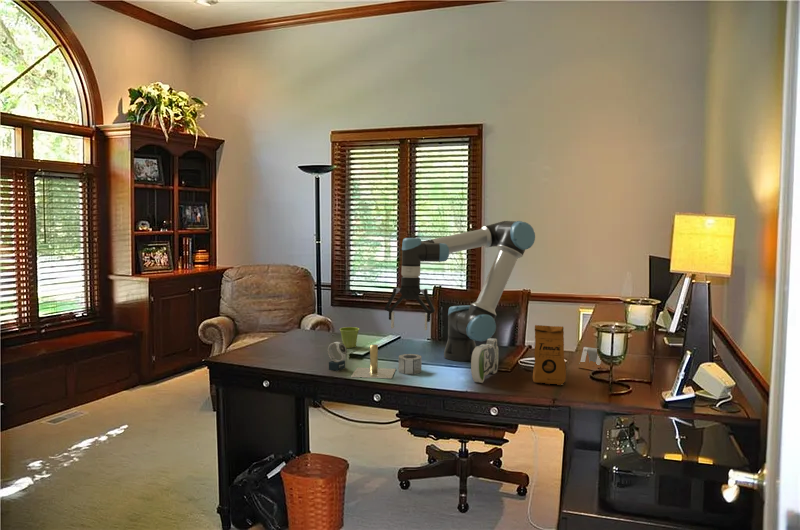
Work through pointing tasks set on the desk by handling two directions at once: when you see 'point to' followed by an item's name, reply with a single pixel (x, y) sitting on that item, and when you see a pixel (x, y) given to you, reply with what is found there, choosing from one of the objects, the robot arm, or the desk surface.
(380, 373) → the square peg stand
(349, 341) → the plant pot
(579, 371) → the desk surface
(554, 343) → the coffee package
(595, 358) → the portable electronic device stand
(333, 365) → the watch
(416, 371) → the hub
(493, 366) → the cutout
